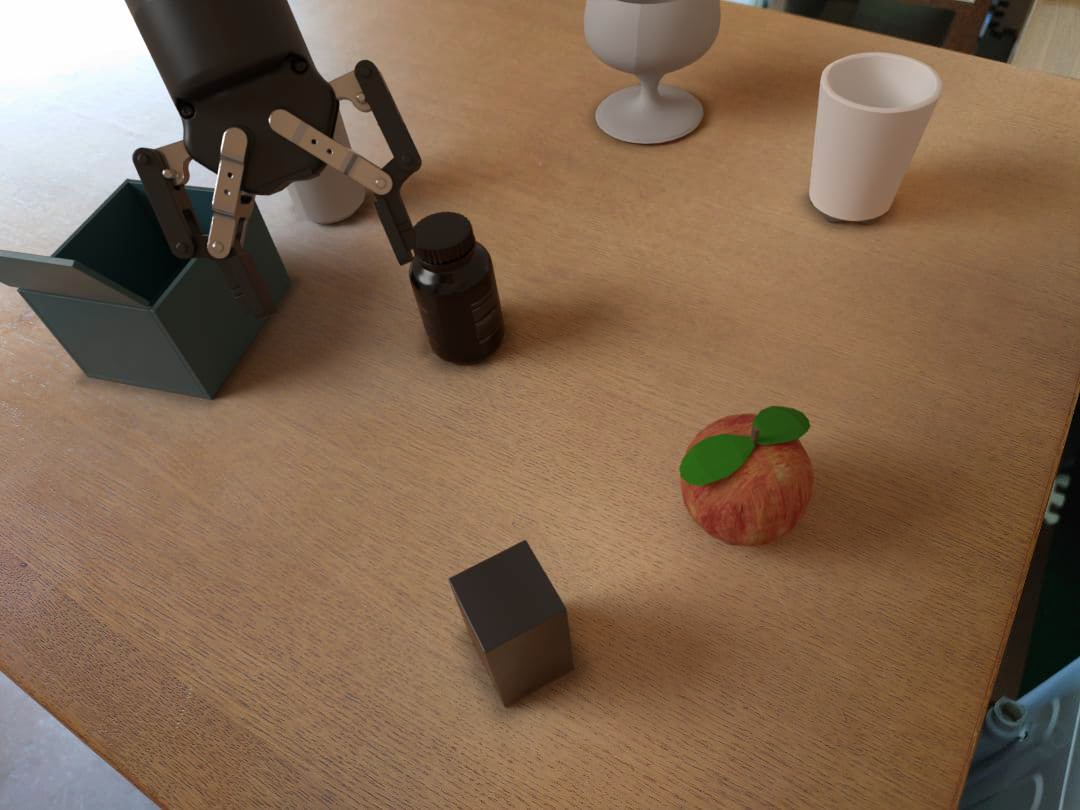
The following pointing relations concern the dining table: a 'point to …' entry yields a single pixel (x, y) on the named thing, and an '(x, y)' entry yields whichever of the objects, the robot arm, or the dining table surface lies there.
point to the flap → (62, 278)
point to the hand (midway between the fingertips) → (338, 289)
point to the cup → (868, 132)
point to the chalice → (650, 62)
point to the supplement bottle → (456, 290)
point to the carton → (156, 299)
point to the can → (328, 190)
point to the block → (515, 622)
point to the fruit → (749, 476)
